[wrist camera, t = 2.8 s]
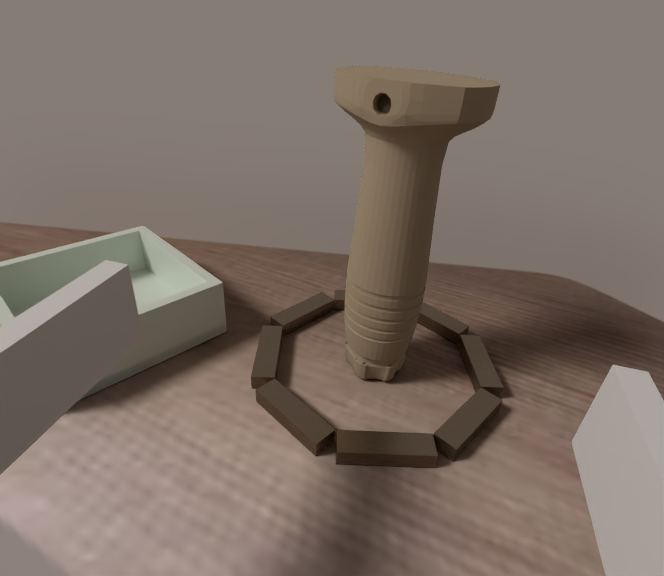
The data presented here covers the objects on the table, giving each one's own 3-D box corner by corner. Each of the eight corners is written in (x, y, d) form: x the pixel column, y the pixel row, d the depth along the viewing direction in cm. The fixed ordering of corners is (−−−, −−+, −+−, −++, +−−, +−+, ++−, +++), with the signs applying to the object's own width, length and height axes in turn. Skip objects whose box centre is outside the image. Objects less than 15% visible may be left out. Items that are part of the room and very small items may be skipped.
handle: (349, 324, 28) (376, 64, 20) (442, 367, 25) (515, 81, 17) (302, 363, 25) (312, 69, 17) (403, 418, 22) (472, 91, 14)
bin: (226, 331, 27) (222, 282, 25) (44, 416, 20) (21, 359, 19) (151, 268, 32) (143, 225, 31) (-9, 320, 26) (-31, 269, 24)
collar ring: (533, 372, 25) (538, 361, 25) (392, 527, 17) (395, 515, 17) (363, 281, 33) (364, 271, 32) (209, 357, 25) (207, 346, 24)
